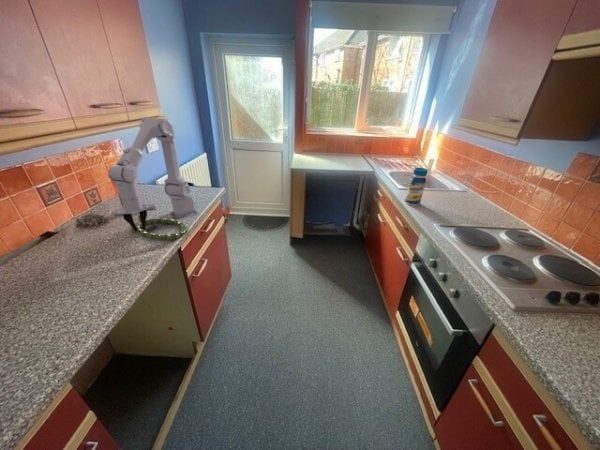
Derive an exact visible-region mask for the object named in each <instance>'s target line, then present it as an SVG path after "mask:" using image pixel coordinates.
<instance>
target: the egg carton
mask: <svg viewBox="0 0 600 450" xmlns="http://www.w3.org/2000/svg"><path fill="white" fill-rule="evenodd" d="M105 216H106V215H105V214H103V215H102V214H100V213H94V212H89V213H88V214H85V215H84V216H83V215H81V218H79V217H72V219H74V220H76V221H75V223H76V225H83V226H89V227H93V226H95V227H96V226H98V225H99V223H104V222H106V218H105ZM86 219H88V220H87V221H86Z"/></svg>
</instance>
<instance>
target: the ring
mask: <svg viewBox="0 0 600 450" xmlns="http://www.w3.org/2000/svg"><path fill="white" fill-rule="evenodd" d="M154 225H171V226H176V227H179V228H180V230H179V231H178V232H174V233H169V234H168V233H167V234H159V233H152V232H149V231H147V230H144V229H143V225H142V222H141V223H140V222H139V223H138V225H136V229H137V232H136V233H137V234H138V235H139V236H140V237H142V238H144V239H147V240H150V241H159V242H166V241H167V242H168V241H175V240H178V239H181V238H182V237H184V236H185V235H186V234H187V232H188V231H189V230H188V229H189V228H188V227H187V224H185V223H184V222H182V221H180V220H176V219H174V218H167V217H165V218H164V217H163V218H161V217H160V218H158V217H157V218H151V219H146V222H145V228H146V227H149V226H154Z"/></svg>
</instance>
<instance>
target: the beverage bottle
mask: <svg viewBox="0 0 600 450" xmlns="http://www.w3.org/2000/svg"><path fill="white" fill-rule="evenodd" d="M412 172H413V173H412V176H411V178H410V180H409V183H408V184H407V185H408V187H407V190H406V195H405V199H404V202H405V203H406V204H407V205H409V206H413V207H415V206H419V205H421V201H422V198H423V194H424V191H425V188H426V183H427V179H426V177H427V176H428V172H429V170H428V169H427V168H424V167H414V169H413V171H412Z"/></svg>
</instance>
